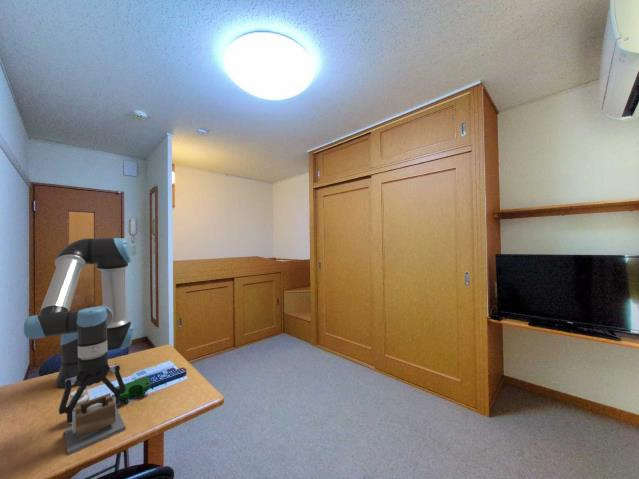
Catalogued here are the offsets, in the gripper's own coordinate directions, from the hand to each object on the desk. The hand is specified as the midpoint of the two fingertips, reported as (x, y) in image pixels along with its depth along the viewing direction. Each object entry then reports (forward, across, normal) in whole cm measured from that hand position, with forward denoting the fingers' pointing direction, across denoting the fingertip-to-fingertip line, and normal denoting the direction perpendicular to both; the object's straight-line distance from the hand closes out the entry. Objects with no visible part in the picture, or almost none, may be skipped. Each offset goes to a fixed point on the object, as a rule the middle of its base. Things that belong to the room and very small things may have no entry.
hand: (94, 422), depth 88 cm
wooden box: (0, 0, 0) cm, 0 cm away
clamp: (+3, +13, +12) cm, 18 cm away
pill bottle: (+3, -3, +12) cm, 13 cm away
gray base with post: (+3, 0, 0) cm, 3 cm away
